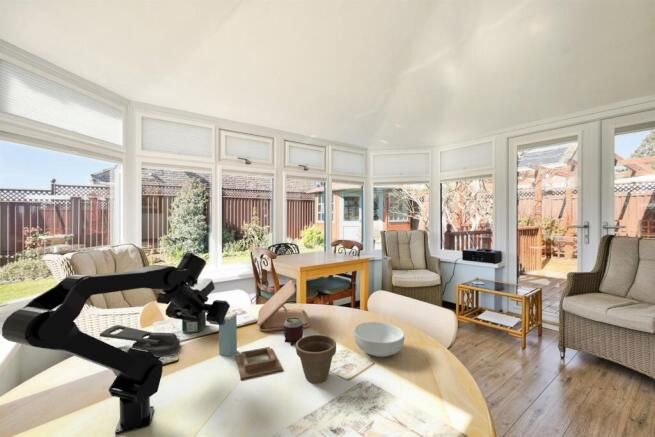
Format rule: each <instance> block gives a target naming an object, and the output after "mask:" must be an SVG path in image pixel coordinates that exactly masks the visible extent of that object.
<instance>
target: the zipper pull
mask: <svg viewBox="0 0 655 437" xmlns="http://www.w3.org/2000/svg"><path fill="white" fill-rule="evenodd" d="M119 330H121V331H119ZM116 331H119V332H117V333H114V332H116ZM113 333H114V334H113ZM99 337H101V338H108V339H117V340H125V341H133V343H132V346H131V348H135V349H140V350H145V351H149V352H151V353H152V354H153V355H156V356H165V355H166V356H167V355H170V354H172V353H174V352H175V351H176V350H177V349H179V346H180V344H181V341H180V340H181V338H178V335H176V334H175V333H174V332H151V331H147V330H143V329H137V328H132V327H129V326H124V325H120V324H116V325H113V326H110V327H109V328H107V329H105V330H103V331H102V332H101V333H99Z"/></svg>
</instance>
